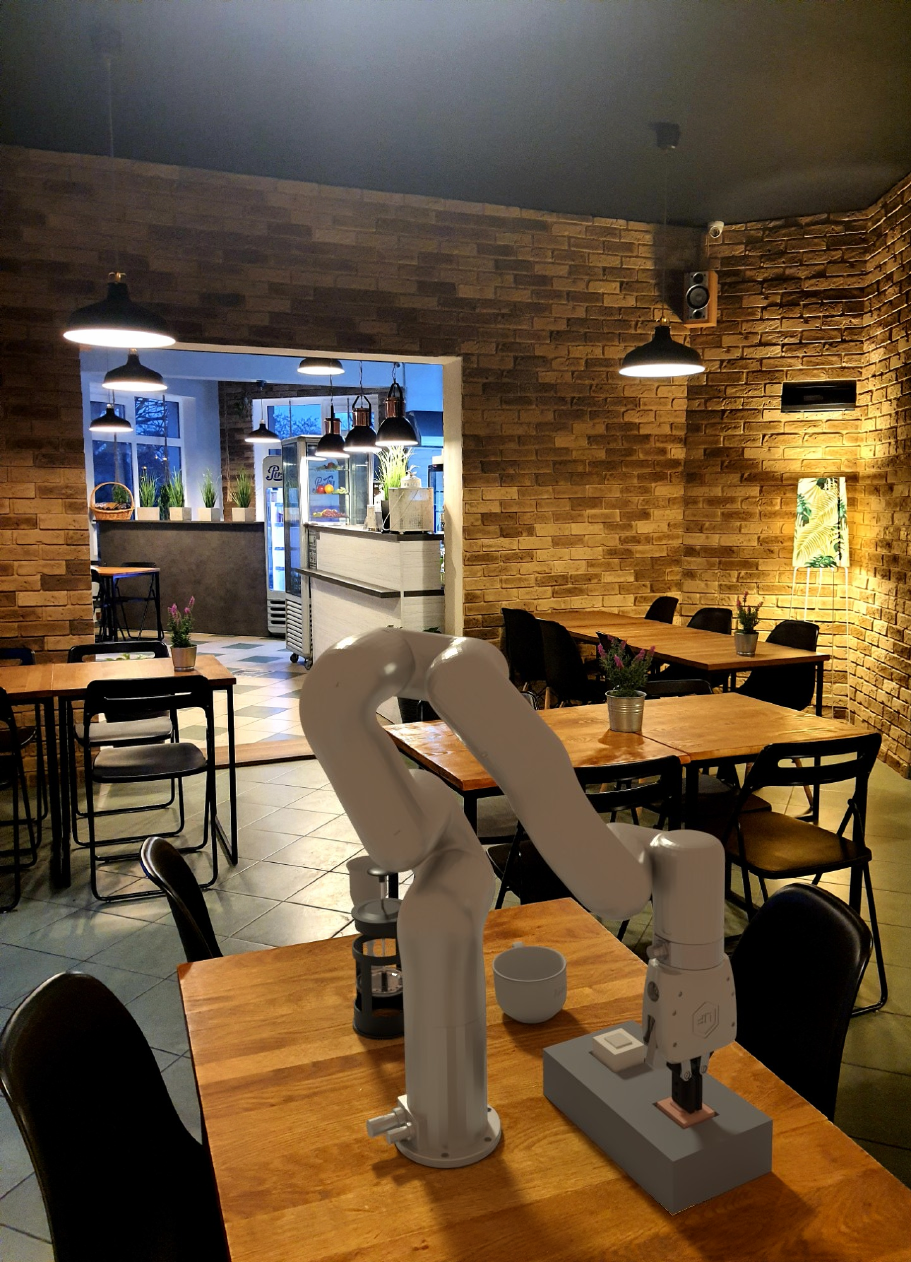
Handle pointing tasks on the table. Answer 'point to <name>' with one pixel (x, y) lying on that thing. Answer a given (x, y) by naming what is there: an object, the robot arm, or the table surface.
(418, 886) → the robot arm
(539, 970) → the teacup
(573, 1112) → the key console
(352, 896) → the chalice
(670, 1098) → the key terracotta
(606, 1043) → the key ivory
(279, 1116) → the table surface
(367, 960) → the french press
